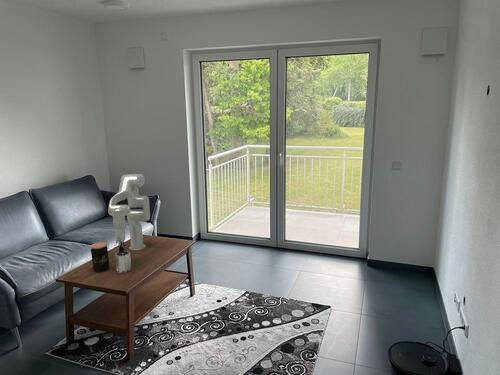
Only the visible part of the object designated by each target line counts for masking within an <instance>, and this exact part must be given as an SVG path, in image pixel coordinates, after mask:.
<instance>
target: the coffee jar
mask: <svg viewBox="0 0 500 375" xmlns="http://www.w3.org/2000/svg"><path fill="white" fill-rule="evenodd" d="M90 254H91V262H92V269H93V271H94V272H96V273H103V272H106V271H108V270H109V269H110V259H109V258H110V257H109V251H108V243H107V242H103V241H102V242H94V243H93V244H91V245H90Z"/></svg>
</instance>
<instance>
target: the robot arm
mask: <svg viewBox="0 0 500 375" xmlns="http://www.w3.org/2000/svg"><path fill="white" fill-rule="evenodd" d="M145 181H146V178H145V175H144V174H143V173H130V174H123V175H121V177H120V182H119V186H118V187H119V188H118V192H117V193H116V194H115V195H114V196H112V197H111V198H110V200H109V203H108V208H107V209H108V210H107V212H108V214H109V216H112V222H113V229H114V230H115V231H114V237H115V244H116V245H117V244H118V252H119V253H124V251H126V248H125V249H124V247H123V244H125V240H126V231H125V228H126V218H127V223H128V227H129V228H128V229H129V237H130V238H129V240H130V246H129V247H128V249H129V251H141V250H143V249H145V248H146V244H145V243H144V237H143V236H144V235H143V226H142V224H141V222H147V221H149V220H150V218H151V211H150V210H151V209H150V199H149V197H148V195H146V194H145V195H144V194H143V195H140V194H139V188H138V187H142V186H143V185H144V184H145ZM126 199H127V204H118V203H119V202H121V201H124V200H126ZM131 208H132V209H131ZM137 208H139V209H137Z"/></svg>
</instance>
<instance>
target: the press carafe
mask: <svg viewBox="0 0 500 375" xmlns="http://www.w3.org/2000/svg"><path fill="white" fill-rule="evenodd" d="M123 255H124V256H122V253H119V251H117V252H115V254H114V258H115V266H116V268H115V269H116V272H117V273H121V274H123V273H127V272H130V271H131V270H132V261H131V252H130V250H129V251H128V250H124V253H123Z"/></svg>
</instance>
